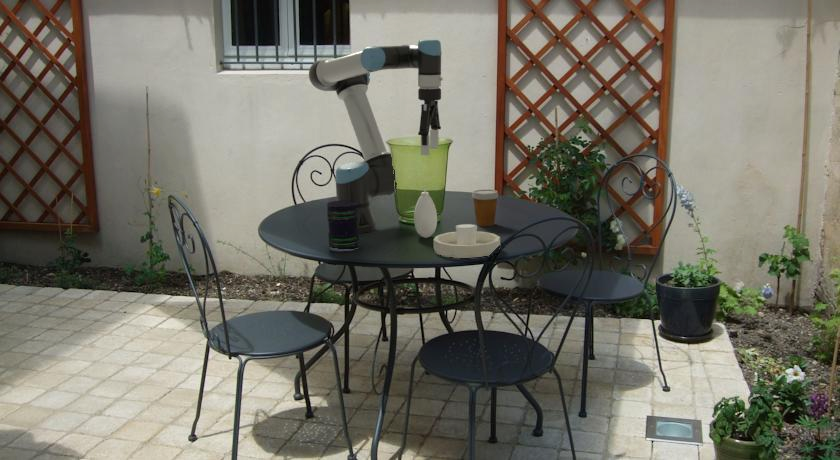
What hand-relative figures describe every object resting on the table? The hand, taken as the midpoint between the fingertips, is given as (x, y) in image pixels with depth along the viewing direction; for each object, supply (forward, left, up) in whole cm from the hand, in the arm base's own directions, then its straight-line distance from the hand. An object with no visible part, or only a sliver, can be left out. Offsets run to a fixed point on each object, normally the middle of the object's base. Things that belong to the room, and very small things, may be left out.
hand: (429, 151), depth 296 cm
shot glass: (+16, -20, -28) cm, 38 cm away
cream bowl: (+16, -20, -29) cm, 38 cm away
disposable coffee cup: (+16, +19, -29) cm, 38 cm away
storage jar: (-24, -22, -29) cm, 44 cm away
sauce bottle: (-1, -3, -29) cm, 29 cm away
